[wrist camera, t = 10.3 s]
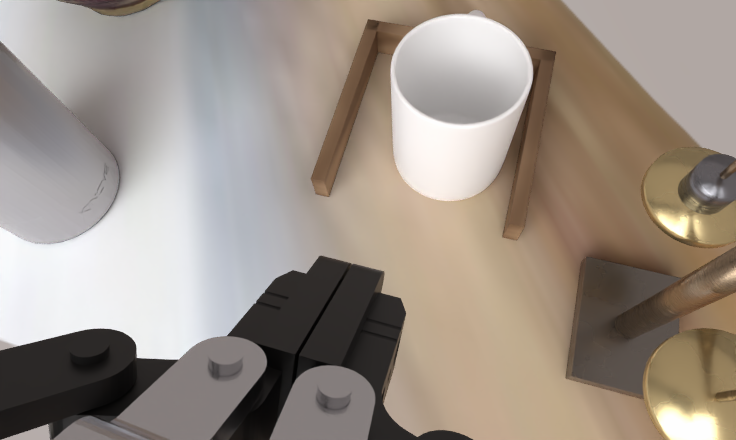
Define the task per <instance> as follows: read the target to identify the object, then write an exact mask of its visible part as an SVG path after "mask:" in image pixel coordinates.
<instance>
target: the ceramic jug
mask: <svg viewBox="0 0 736 440" xmlns="http://www.w3.org/2000/svg"><path fill="white" fill-rule="evenodd" d="M58 1H61V2H66V3H72V4H77V5H82V6H85V7H88V8H91V9H92V10H94V11H96V12H98V13H100V14H103V15H109V16H124V15H128V14H132V13H135V12H138V11H141V10H144V9H146V8H147V7H149V6H151V5H153V4H154V3H156V2H158V1H160V0H58Z"/></svg>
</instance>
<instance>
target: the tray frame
mask: <svg viewBox="0 0 736 440" xmlns="http://www.w3.org/2000/svg"><path fill="white" fill-rule="evenodd" d="M413 28H415V27H410V26H404V25H398V24H392V23H387V22H381V21H375V20H369V19H368V21H367V24H366V27H365V29H364V32H363V35H362V38H361V41H360V43H359V46H358V49H357V52H356V54H355V57H354V60H353V63H352V66H351V68H350V71H349V74H348V77H347V79H346V82H345V85H344V88H343V91H342V93H341V96H340V99H339V102H338V104H337V107H336V110H335V113H334V116H333V118H332V121H331V124H330V127H329V129H328V132H327V135H326V138H325V141H324V143H323V146H322V149H321V152H320V155H319V157H318V160H317V163H316V166H315V168H314V171H313V174H312V177H311V180H312V183H313V186H314V189H315V192H316V194H318V195H323V196H327V197H329V195H330V192H331V189H332V186H333V183H334V180H335V177H336V174H337V171H338V168H339V165H340V162H341V159H342V157H343V154H344V151H345V148H346V145H347V142H348V139H349V136H350V133H351V130H352V127H353V124H354V121H355V118H356V115H357V112H358V110H359V107H360V104H361V101H362V98H363V95H364V92H365V89H366V86H367V83H368V80H369V77H370V74H371V71H372V68H373V65H374V62H375V60H376V57H377V54H378V52H380V53H385V54H391V55H393V54H394V52H395V50H396V48H397V46H398V44H399V43H400V41H401V40H402V39H403V38H404V36H405V35H406V34H407V33H408V32H410V31H411V30H412V29H413ZM526 48H527V50H528V52H529V54H530V57H531V60H532V65H533V84H532V90H531V95H530V100H529V105H528V110H527V115H526V120H525V125H524V130H523V135H522V141H521V146H520V151H519V156H518V161H517V166H516V171H515V176H514V181H513V186H512V192H511V197H510V202H509V207H508V212H507V217H506V222H505V227H504V232H503V237H504V238H508V239H513V240H517V239H518V237H519V236H520V234H521V232H522V230H523V228H524V226H525V221H526V215H527V210H528V204H529V198H530V193H531V187H532V182H533V176H534V171H535V165H536V160H537V154H538V149H539V143H540V138H541V132H542V127H543V121H544V115H545V110H546V104H547V99H548V93H549V88H550V82H551V77H552V71H553V66H554V60H555V55H556V52H555V51H549V50H543V49H537V48H531V47H526Z"/></svg>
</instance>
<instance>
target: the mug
mask: <svg viewBox="0 0 736 440" xmlns="http://www.w3.org/2000/svg"><path fill="white" fill-rule="evenodd" d="M532 81H533V65H532V60H531V57H530V54H529V52H528V50H527V48H526V46H525V45H524V43H523V42H522V41H521V39H520V38H519V37H518V36H517V35H516V34H515V33H514V32H512V31H511V30H510V29H509V28H507V27H506V26H504V25H502V24H501V23H499V22H496V21H494V20H492V19H489V18H486V17H485V14H484V13H483V12H482V11H479V10H473V11H471V12H469V14H449V15H443V16H439V17H436V18H432V19H430V20H427V21H425V22H423V23H421V24H419V25H418V26H416V27H415V28H413V29H412V30H411V31H410V32H408V33H407V34H406V35H405V36H404V38H403V39H402V40H401V41H400V43H399V44H398V46H397V48H396V50H395V52H394V54H393V57H392V61H391V103H392V135H393V154H394V160H395V164H396V166H397V169H398V171H399V173H400V175H401V177H402V178H403V179H404V181H405V182H406V183H407V184H408V185H409V186H410V187H411V188H413V189H414V190H415V191H417V192H418V193H420V194H422V195H424V196H426V197H429V198H432V199H435V200H441V201H458V200H463V199H467V198H470V197H473V196H475V195H477V194H479V193H480V192H482V191H483V190H485V189H486V188H487V187H488V186H489V185H490V184H491V183H492V182H493V181H494V180H495V178H496V177H497V175H498V173H499V172H500V169H501V167H502V165H503V163H504V160H505V157H506V155H507V152H508V149H509V146H510V144H511V141H512V138H513V135H514V133H515V130H516V127H517V124H518V122H519V119H520V116H521V113H522V111H523V108H524V105H525V102H526V99H527V97H528V94H529V91H530V88H531V85H532Z"/></svg>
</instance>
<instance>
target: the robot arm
mask: <svg viewBox="0 0 736 440" xmlns="http://www.w3.org/2000/svg"><path fill="white" fill-rule="evenodd" d="M118 184H119V168H118V165H117V163H116V160H115V158H114V156H113V155H112V154H111V152H110V151H109V150H108V149H107V148H106V147H105V146H104V145H103V144H102V143H101V142H100V141H99V140H98V139H97V138H96V137H95V136H94V135H93V134H92V133H91V132H90V131H89V130H88V129H87V128H86V127H85V126H84V125H83V123H82V122H81V121H80V120H79V119H78V118H77V117H76V116H75V115H74V114H73V113H72V112H71V111H70V110H69V109H68V108H67V107H66V106H65V105H64V104H63V103H62V102H61V101H60V100H59V99H58V98H57V97H56V96H55V95H54V94H53V93H52V92H51V91H50V90H49V89H48V88H47V87H46V86H45V85H44V84H43V83H42V82H41V81H40V80H39V79H38V78H37V77H36V76H35V75H34V74H33V73H32V72H31V71H30V70H29V69H28V68H27V67H26V66H25V65H24V64H23V63H22V62H21V61H20V60H19V59H18V58H17V57H16V56H15V55H14V54H13V53H12V52H11V51H10V50H9V49H8V48H7V47H6V46H5V45H4V44H3V43H2V42H1V41H0V227H1V228H3V229H5V230H7V231H9V232H11V233H13V234H14V235H16V236H18V237H20V238H22V239H24V240H26V241H30V242H33V243H40V244H51V243H58V242H63V241H66V240H69V239H71V238H74V237H76V236H78V235H80V234H82V233H83V232H85V231H87V230H88V229H89V228H91V227H92V226H93V225H94V224H96V223H97V222H98V221H99V220H100V219H101V218H102V217H103V215H104V214H105V213H106V212H107V210H108V209H109V207H110V206H111V204H112V203H113V201H114V198H115V195H116V193H117V190H118ZM383 280H384V271H380V270H376V269H372V268H368V267H364V266H360V265H356V264H351V263H348V262H344V261H340V260H336V259H332V258H328V257H324V256H319V258H318V259H317V260H316V262H315V263H314V264H313V266H312V267H311V268H310V270H309V271H308V272H307V274H305V273H301V272H297V271H291V272H288V273H286V274H284V275H282V276H280V277H278V278H276V279H275V280H274V281H273V282H272V283H271V285H270V286H269V287H268V288H267V289H266V290H265V293H263V294H262V295H261V296H260V298H259V299H258V300H257V302H256V304H254V305H253V306H252V307H251V308H250V309H249V311H248V312H247V313H246V314H245V315H244V317H243V318H242V319H241V320H240V321H239V322H238V324H237V325H236V326H235V327H234V328H233V330H232V331H231V332H230V333H229V334H228V336H223V337H215V338H211V339H207V340H204V341H202V342H200V343H198V344H196V345H195V346H194V347H192V348H191V349H190V350H189V351H188V352H187V353H186V354H184V355H183V356H182V357H181V358H180V359H179V360H164V359H142V358H137V355H136V345H135V342H134V341H133V339H132V338H131V337H129V336H128V335H126V334H125V333H123V332H120V331H116V330H111V329H89V330H83V331H79V332H75V333H70V334H66V335H62V336H58V337H54V338H50V339H46V340H42V341H38V342H34V343H30V344H26V345H21V346H17V347H13V348H9V349H5V350H1V351H0V440H1V439H4V438H7V437H10V436H13V435H16V434H19V433H22V432H25V431H28V430H31V429H34V428H37V427H40V426H43V425H46V424H48V425H49V432H50V440H473V439H471V438H469V437H467V436H465V435H462V434H460V433H456V432H452V431H445V430H436V431H430V432H427V433H424V434H422V435H421V436H419V437H416V436H414V435H413V434H411V433H409V432H408V431H406V430H405V429H403V428H402V427H400V426H399V425H398V424H397V423H396V422H395V421H394V420H393V419H392V418H391V417H390V416H389V414H388V413H387V411H386V409H385V407H384V405H383V403H384V399H385V396H386V393H387V390H388V386H389V383H390V380H391V376H392V373H393V370H394V366H395V361H396V357H397V352H398V347H399V343H400V338H401V334H402V329H403V325H404V320H405V316H406V312H405V309H404V306H403V303H402V301H401V298H397V297H393V296H390V295H386V294H382V293H381V290H382V285H383Z"/></svg>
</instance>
